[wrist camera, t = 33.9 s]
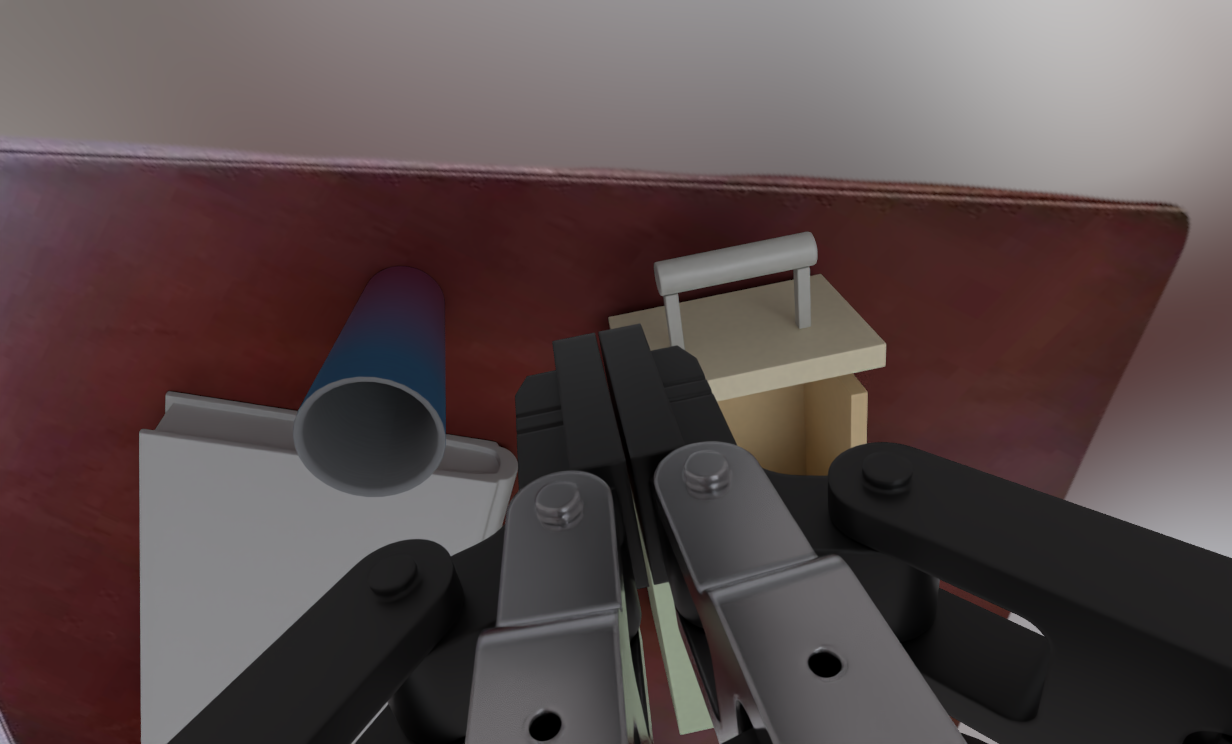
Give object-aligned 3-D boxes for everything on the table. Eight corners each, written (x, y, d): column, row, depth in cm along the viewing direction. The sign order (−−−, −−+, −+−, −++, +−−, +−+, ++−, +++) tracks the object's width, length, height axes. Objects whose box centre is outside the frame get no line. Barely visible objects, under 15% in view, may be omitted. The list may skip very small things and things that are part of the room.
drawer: (592, 234, 37) (614, 302, 30) (819, 189, 37) (890, 246, 31) (643, 511, 46) (667, 609, 40) (824, 472, 47) (878, 563, 40)
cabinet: (618, 438, 44) (646, 554, 36) (827, 394, 45) (901, 499, 37) (651, 607, 52) (680, 735, 44) (829, 569, 52) (891, 688, 44)
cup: (338, 254, 37) (277, 382, 26) (453, 249, 37) (436, 371, 27) (358, 353, 39) (309, 503, 29) (464, 346, 40) (453, 491, 30)
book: (140, 749, 46) (138, 433, 36) (163, 695, 50) (168, 390, 39) (440, 763, 51) (519, 486, 40) (443, 712, 54) (517, 444, 44)
